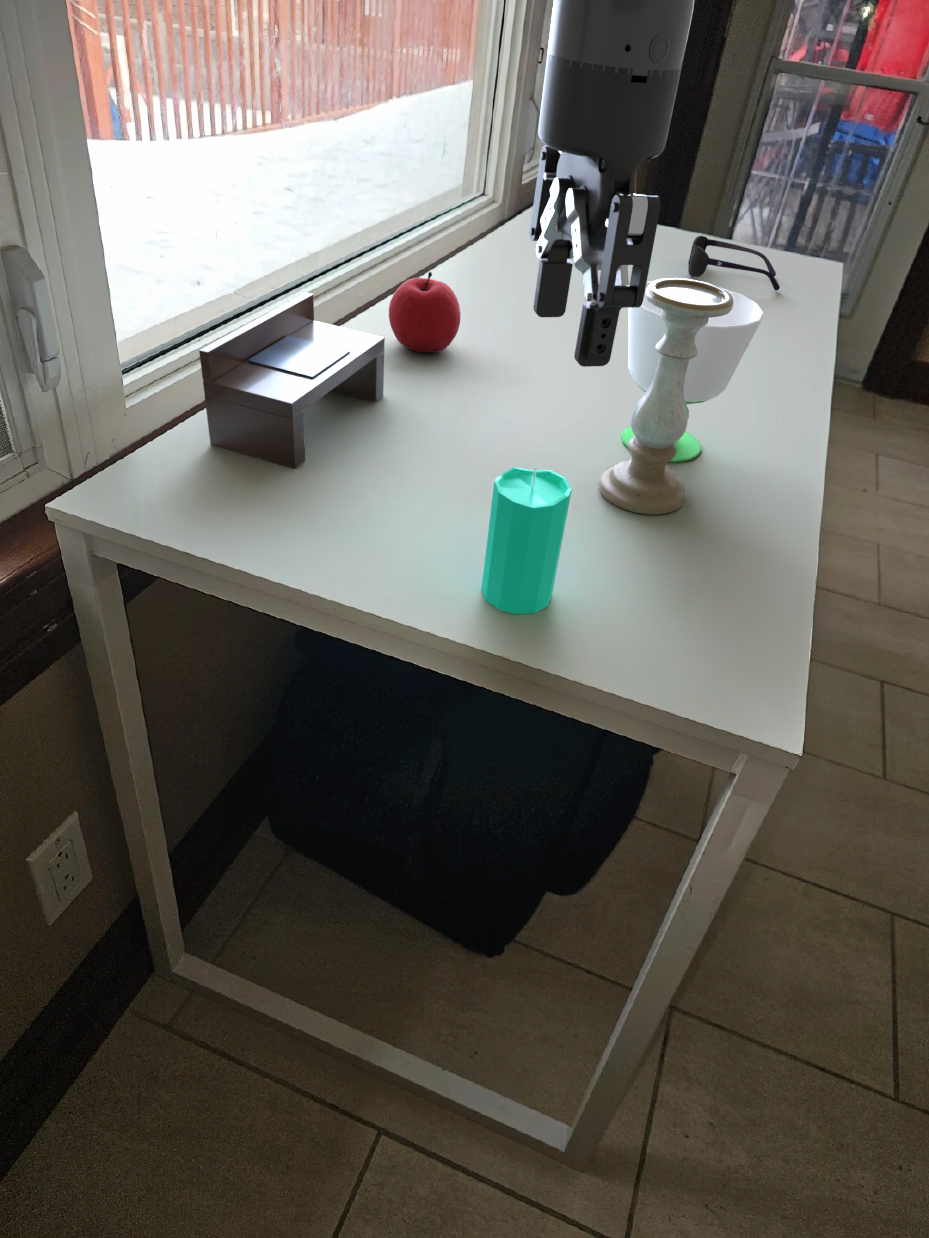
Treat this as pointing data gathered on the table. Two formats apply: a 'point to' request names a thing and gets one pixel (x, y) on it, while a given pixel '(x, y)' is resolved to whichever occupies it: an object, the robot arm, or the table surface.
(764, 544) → the table surface
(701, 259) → the sunglasses
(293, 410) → the shelf
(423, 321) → the apple
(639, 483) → the candle holder
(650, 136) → the robot arm
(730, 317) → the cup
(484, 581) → the candle
